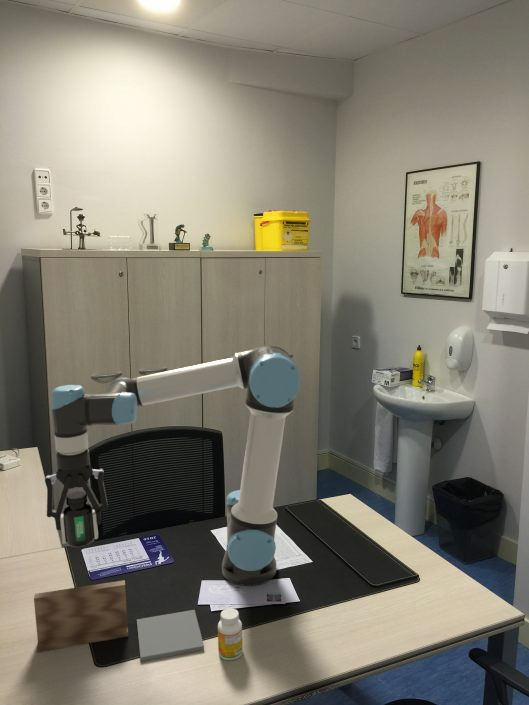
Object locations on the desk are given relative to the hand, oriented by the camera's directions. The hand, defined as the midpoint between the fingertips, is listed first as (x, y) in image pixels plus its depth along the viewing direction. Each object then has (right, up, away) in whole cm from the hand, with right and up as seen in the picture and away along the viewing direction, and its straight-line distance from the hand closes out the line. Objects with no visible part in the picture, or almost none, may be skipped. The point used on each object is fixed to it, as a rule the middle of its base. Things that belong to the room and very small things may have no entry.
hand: (80, 538), depth 149 cm
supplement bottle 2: (+38, -21, -14) cm, 46 cm away
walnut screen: (+3, -20, -8) cm, 22 cm away
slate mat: (+23, -20, -8) cm, 32 cm away
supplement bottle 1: (0, -1, 0) cm, 1 cm away
